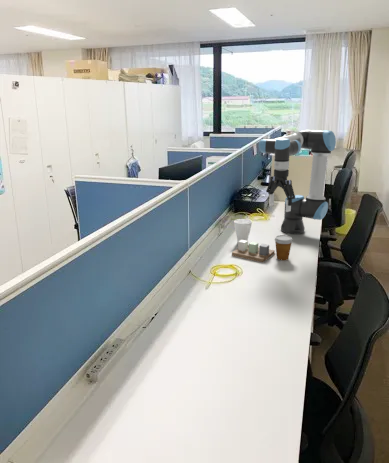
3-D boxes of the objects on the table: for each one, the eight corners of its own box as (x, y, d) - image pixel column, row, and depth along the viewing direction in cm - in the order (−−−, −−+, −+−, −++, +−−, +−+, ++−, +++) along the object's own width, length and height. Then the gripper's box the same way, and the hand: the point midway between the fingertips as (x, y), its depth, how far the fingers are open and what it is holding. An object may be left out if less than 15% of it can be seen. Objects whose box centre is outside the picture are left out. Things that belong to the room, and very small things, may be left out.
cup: (250, 239, 253) (251, 218, 249) (251, 245, 243) (252, 224, 239) (233, 239, 254) (234, 218, 250) (233, 245, 244) (234, 223, 240)
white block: (241, 247, 235) (241, 239, 234) (247, 249, 233) (248, 240, 232) (238, 249, 232) (238, 241, 231) (244, 251, 230) (244, 242, 228)
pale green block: (251, 249, 232) (252, 241, 230) (258, 251, 230) (258, 242, 228) (248, 252, 229) (248, 243, 227) (255, 253, 227) (255, 245, 225)
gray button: (262, 252, 228) (262, 243, 227) (268, 253, 226) (269, 245, 225) (259, 254, 225) (259, 245, 224) (265, 255, 223) (266, 247, 221)
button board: (244, 247, 241) (244, 244, 240) (274, 253, 231) (274, 250, 230) (231, 255, 229) (231, 252, 228) (263, 262, 219) (263, 259, 218)
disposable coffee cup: (290, 255, 228) (291, 234, 224) (292, 261, 219) (293, 240, 215) (272, 255, 229) (273, 234, 225) (274, 261, 220) (275, 240, 216)
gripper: (260, 166, 221) (259, 204, 228) (292, 173, 201) (290, 215, 208) (271, 165, 225) (270, 202, 232) (303, 171, 204) (301, 212, 211)
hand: (279, 208), depth 220 cm, fingers open, 13 cm apart
